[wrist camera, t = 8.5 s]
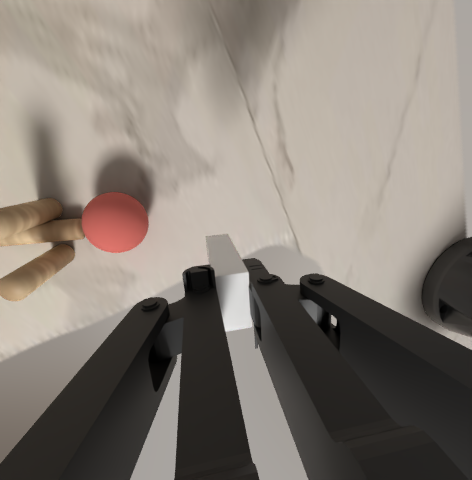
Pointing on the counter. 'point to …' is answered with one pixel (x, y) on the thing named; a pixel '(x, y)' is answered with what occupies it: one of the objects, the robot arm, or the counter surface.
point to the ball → (114, 222)
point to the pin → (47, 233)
